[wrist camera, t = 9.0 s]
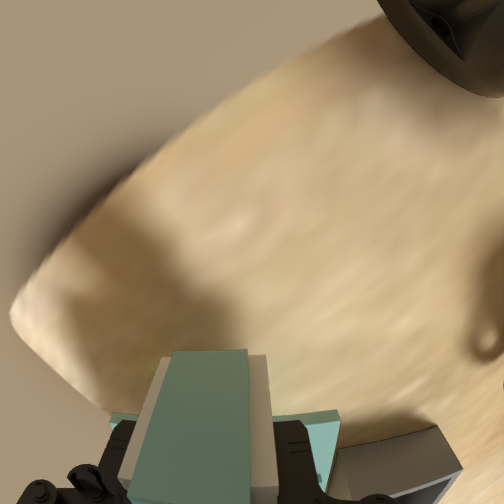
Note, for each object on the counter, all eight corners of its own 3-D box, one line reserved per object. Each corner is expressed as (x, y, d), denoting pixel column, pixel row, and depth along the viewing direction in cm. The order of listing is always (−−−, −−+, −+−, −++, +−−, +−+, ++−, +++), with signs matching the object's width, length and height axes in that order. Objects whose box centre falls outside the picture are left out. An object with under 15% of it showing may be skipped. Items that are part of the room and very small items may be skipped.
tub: (337, 449, 22) (352, 504, 16) (437, 425, 22) (463, 468, 16) (321, 512, 26) (328, 552, 20) (399, 495, 26) (413, 530, 20)
